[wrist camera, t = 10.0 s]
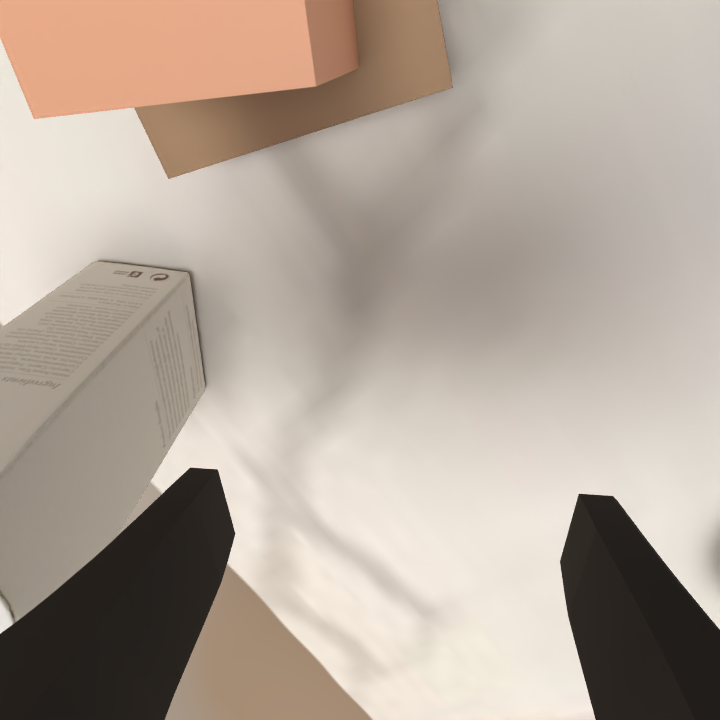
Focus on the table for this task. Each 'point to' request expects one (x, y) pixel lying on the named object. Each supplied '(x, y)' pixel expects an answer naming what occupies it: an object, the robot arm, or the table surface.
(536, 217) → the table surface
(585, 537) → the robot arm
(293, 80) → the terracotta cube
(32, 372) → the skincare box
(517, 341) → the table surface
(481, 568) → the table surface
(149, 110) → the walnut block
